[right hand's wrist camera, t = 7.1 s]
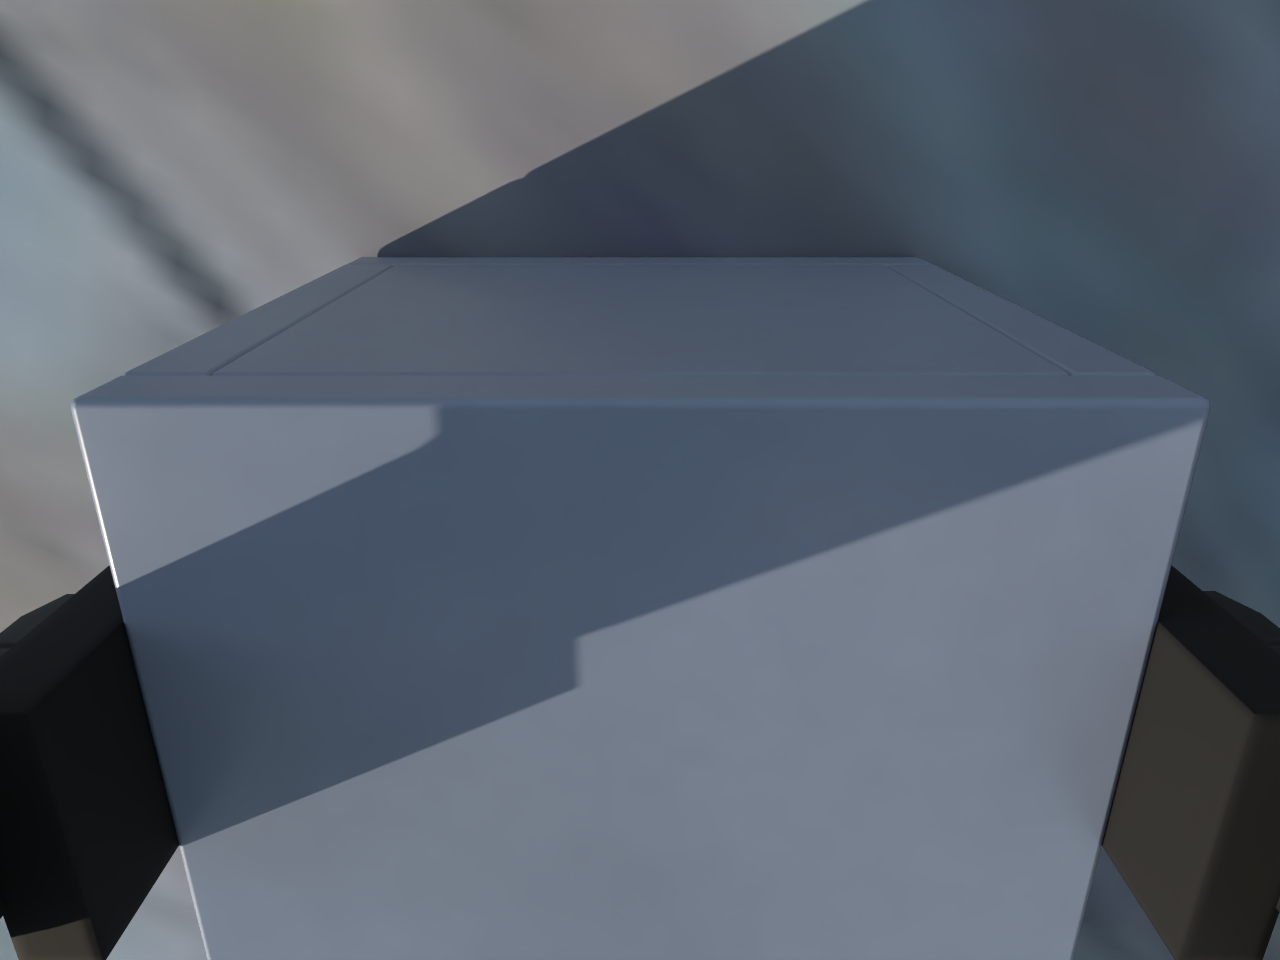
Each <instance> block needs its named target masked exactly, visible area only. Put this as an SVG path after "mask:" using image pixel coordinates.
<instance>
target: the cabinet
mask: <svg viewBox="0 0 1280 960" xmlns="http://www.w3.org/2000/svg"><path fill="white" fill-rule="evenodd" d="M71 411H72V415H73V419H74V423H75V427H76V431H77V435H78V439H79V443H80V447H81V451H82V455H83V459H84V463H85V467H86V471H87V475H88V479H89V483H90V487H91V491H92V496H93V500H94V504H95V508H96V512H97V516H98V520H99V524H100V528H101V532H102V536H103V540H104V544H105V548H106V552H107V556H108V560H109V564H110V568H111V572H112V576H113V580H114V584H115V588H116V592H117V596H118V600H119V604H120V608H121V612H122V616H123V620H124V624H125V628H126V632H127V636H128V640H129V645H130V649H131V653H132V657H133V661H134V665H135V669H136V673H137V677H138V681H139V685H140V689H141V693H142V697H143V701H144V705H145V709H146V713H147V717H148V721H149V725H150V729H151V733H152V737H153V741H154V745H155V749H156V753H157V757H158V761H159V765H160V769H161V773H162V777H163V781H164V785H165V789H166V794H167V798H168V802H169V806H170V810H171V814H172V818H173V822H174V826H175V830H176V834H177V838H178V842H179V846H180V850H181V854H182V858H183V862H184V866H185V870H186V874H187V878H188V882H189V886H190V890H191V894H192V898H193V902H194V906H195V910H196V914H197V918H198V922H199V926H200V930H201V934H202V938H203V943H204V947H205V951H206V955H207V959H208V960H1073V958H1074V954H1075V950H1076V946H1077V942H1078V938H1079V934H1080V930H1081V926H1082V922H1083V918H1084V914H1085V910H1086V905H1087V901H1088V897H1089V893H1090V889H1091V885H1092V881H1093V877H1094V873H1095V869H1096V865H1097V861H1098V857H1099V853H1100V849H1101V845H1102V841H1103V837H1104V833H1105V829H1106V825H1107V821H1108V817H1109V813H1110V809H1111V805H1112V801H1113V797H1114V793H1115V789H1116V785H1117V781H1118V777H1119V773H1120V769H1121V765H1122V761H1123V757H1124V753H1125V749H1126V745H1127V741H1128V737H1129V733H1130V729H1131V725H1132V721H1133V717H1134V713H1135V709H1136V705H1137V701H1138V697H1139V693H1140V689H1141V685H1142V681H1143V677H1144V673H1145V669H1146V665H1147V661H1148V657H1149V653H1150V649H1151V645H1152V641H1153V637H1154V632H1155V628H1156V624H1157V620H1158V616H1159V612H1160V608H1161V604H1162V600H1163V596H1164V592H1165V588H1166V584H1167V580H1168V576H1169V572H1170V568H1171V564H1172V560H1173V556H1174V552H1175V548H1176V544H1177V540H1178V536H1179V532H1180V528H1181V524H1182V520H1183V516H1184V512H1185V508H1186V504H1187V500H1188V496H1189V492H1190V488H1191V484H1192V480H1193V476H1194V472H1195V468H1196V464H1197V460H1198V456H1199V452H1200V448H1201V444H1202V440H1203V436H1204V432H1205V428H1206V424H1207V420H1208V416H1209V412H1210V402H1209V400H1208V399H1206V398H1204V397H1202V396H1200V395H1198V394H1196V393H1194V392H1192V391H1190V390H1188V389H1186V388H1184V387H1182V386H1180V385H1178V384H1176V383H1174V382H1172V381H1170V380H1168V379H1166V378H1163V377H1161V376H1157V374H1156V373H1155V372H1152V371H1150V370H1148V369H1146V368H1144V367H1142V366H1140V365H1138V364H1136V363H1134V362H1132V361H1130V360H1128V359H1126V358H1124V357H1122V356H1120V355H1118V354H1116V353H1114V352H1112V351H1109V350H1107V349H1105V348H1103V347H1101V346H1099V345H1097V344H1095V343H1093V342H1091V341H1089V340H1087V339H1085V338H1083V337H1081V336H1079V335H1077V334H1075V333H1073V332H1071V331H1069V330H1066V329H1064V328H1062V327H1060V326H1058V325H1056V324H1054V323H1052V322H1050V321H1048V320H1046V319H1044V318H1042V317H1040V316H1038V315H1036V314H1034V313H1032V312H1030V311H1028V310H1026V309H1023V308H1021V307H1019V306H1017V305H1015V304H1013V303H1011V302H1009V301H1007V300H1005V299H1003V298H1001V297H999V296H997V295H995V294H993V293H991V292H989V291H987V290H985V289H983V288H980V287H978V286H976V285H974V284H972V283H970V282H968V281H966V280H964V279H962V278H960V277H958V276H956V275H954V274H952V273H950V272H948V271H946V270H944V269H942V268H940V267H937V266H935V265H933V264H931V263H929V262H927V261H925V260H923V259H921V258H918V257H361V258H359V259H357V260H355V261H353V262H351V263H349V264H346V265H344V266H342V267H340V268H338V269H336V270H334V271H332V272H330V273H328V274H326V275H324V276H322V277H319V278H317V279H315V280H313V281H311V282H309V283H307V284H305V285H303V286H301V287H299V288H297V289H295V290H293V291H291V292H289V293H287V294H285V295H283V296H281V297H279V298H277V299H275V300H273V301H271V302H268V303H266V304H264V305H262V306H260V307H258V308H256V309H254V310H252V311H250V312H248V313H246V314H244V315H242V316H240V317H238V318H236V319H234V320H232V321H230V322H228V323H226V324H224V325H222V326H220V327H217V328H215V329H213V330H211V331H209V332H207V333H205V334H203V335H201V336H199V337H197V338H195V339H193V340H191V341H189V342H187V343H185V344H183V345H181V346H179V347H177V348H175V349H173V350H171V351H169V352H166V353H164V354H162V355H160V356H158V357H156V358H154V359H152V360H150V361H148V362H146V363H144V364H142V365H140V366H138V367H136V368H134V369H132V370H130V371H128V372H126V373H124V374H123V376H120V377H118V378H116V379H114V380H112V381H110V382H108V383H106V384H104V385H102V386H99V387H97V388H95V389H93V390H91V391H89V392H87V393H85V394H83V395H81V396H79V397H77V398H75V399H73V401H72V404H71Z"/></svg>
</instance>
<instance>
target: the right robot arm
mask: <svg viewBox="0 0 1280 960" xmlns="http://www.w3.org/2000/svg"><path fill="white" fill-rule="evenodd" d="M178 846H179V842H178V838H177V834H176V830H175V826H174V822H173V818H172V814H171V810H170V806H169V802H168V798H167V794H166V789H165V785H164V781H163V777H162V773H161V769H160V765H159V761H158V757H157V753H156V749H155V745H154V741H153V737H152V733H151V729H150V725H149V721H148V717H147V713H146V709H145V705H144V701H143V697H142V693H141V689H140V685H139V681H138V677H137V673H136V669H135V665H134V661H133V657H132V653H131V649H130V645H129V640H128V636H127V632H126V628H125V624H124V620H123V616H122V612H121V608H120V604H119V600H118V596H117V592H116V588H115V584H114V580H113V576H112V572H111V568H110V565H109V566H108V567H107V568H106V569H104V570H103V571H102V572H101V573H100V574H99V575H97V576H96V577H95V578H94V579H93V580H91V581H90V582H89V583H88V584H87V585H85V586H84V587H83V588H82V589H81V590H79V591H78V592H77V593H76V594H66V595H64V596H62V597H60V598H58V599H56V600H54V601H52V602H50V603H48V604H46V605H44V606H42V607H40V608H38V609H36V610H34V611H32V612H30V613H28V614H26V615H23V616H21V617H20V618H19V619H18V620H16V621H15V622H14V623H13V624H11V625H10V626H9V627H8V628H6V629H5V630H4V631H3V632H1V633H0V918H1V917H2V916H4V919H5V922H6V925H7V928H8V931H9V933H10V936H11V939H12V942H13V945H14V947H15V950H16V953H17V956H18V959H19V960H106V959H107V957H108V956H109V954H110V953H111V951H112V949H113V948H114V946H115V945H116V943H117V942H118V940H119V938H120V937H121V935H122V934H123V932H124V931H125V929H126V927H127V926H128V924H129V923H130V921H131V920H132V918H133V916H134V915H135V913H136V912H137V910H138V909H139V907H140V906H141V904H142V902H143V901H144V899H145V898H146V896H147V895H148V893H149V891H150V890H151V888H152V887H153V885H154V884H155V882H156V880H157V879H158V877H159V876H160V874H161V873H162V871H163V869H164V868H165V866H166V865H167V863H168V862H169V860H170V858H171V857H172V855H173V854H174V852H175V851H176V849H177V847H178ZM1102 846H1103V848H1104V849H1105V851H1106V852H1107V854H1108V855H1109V857H1110V859H1111V860H1112V862H1113V863H1114V865H1115V866H1116V868H1117V870H1118V871H1119V873H1120V874H1121V876H1122V877H1123V879H1124V881H1125V882H1126V884H1127V885H1128V887H1129V888H1130V890H1131V891H1132V893H1133V895H1134V896H1135V898H1136V899H1137V901H1138V902H1139V904H1140V906H1141V907H1142V909H1143V910H1144V912H1145V913H1146V915H1147V917H1148V918H1149V920H1150V921H1151V923H1152V924H1153V926H1154V928H1155V929H1156V931H1157V932H1158V934H1159V935H1160V937H1161V939H1162V940H1163V942H1164V943H1165V945H1166V946H1167V948H1168V950H1169V951H1170V953H1171V954H1172V956H1173V957H1174V959H1175V960H1262V959H1263V957H1264V954H1265V951H1266V948H1267V945H1268V942H1269V940H1270V937H1271V934H1272V931H1273V928H1274V926H1275V923H1276V920H1277V917H1278V914H1279V912H1280V628H1279V627H1277V626H1276V625H1275V624H1273V623H1272V622H1271V621H1270V620H1268V619H1267V618H1266V617H1265V616H1263V615H1262V614H1261V613H1259V612H1257V611H1255V610H1253V609H1251V608H1248V607H1246V606H1244V605H1242V604H1240V603H1238V602H1236V601H1234V600H1232V599H1230V598H1228V597H1226V596H1224V595H1222V594H1220V593H1218V592H1216V591H1202V590H1200V589H1199V588H1198V587H1197V586H1196V585H1194V584H1193V583H1192V582H1191V581H1190V580H1188V579H1187V578H1186V577H1185V576H1184V575H1182V574H1181V573H1180V572H1179V571H1178V570H1176V569H1175V568H1174V567H1173V566H1172V565H1171V568H1170V572H1169V576H1168V580H1167V584H1166V588H1165V592H1164V596H1163V600H1162V604H1161V608H1160V612H1159V616H1158V620H1157V624H1156V628H1155V632H1154V637H1153V641H1152V645H1151V649H1150V653H1149V657H1148V661H1147V665H1146V669H1145V673H1144V677H1143V681H1142V685H1141V689H1140V693H1139V697H1138V701H1137V705H1136V709H1135V713H1134V717H1133V721H1132V725H1131V729H1130V733H1129V737H1128V741H1127V745H1126V749H1125V753H1124V757H1123V761H1122V765H1121V769H1120V773H1119V777H1118V781H1117V785H1116V789H1115V793H1114V797H1113V801H1112V805H1111V809H1110V813H1109V817H1108V821H1107V825H1106V829H1105V833H1104V837H1103V841H1102Z"/></svg>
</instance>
